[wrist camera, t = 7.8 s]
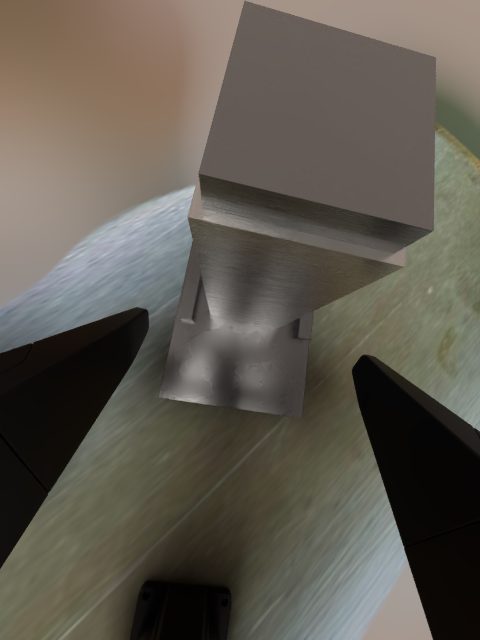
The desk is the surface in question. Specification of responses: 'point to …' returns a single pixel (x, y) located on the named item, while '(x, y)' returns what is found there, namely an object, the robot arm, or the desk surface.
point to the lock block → (311, 167)
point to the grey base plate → (234, 357)
